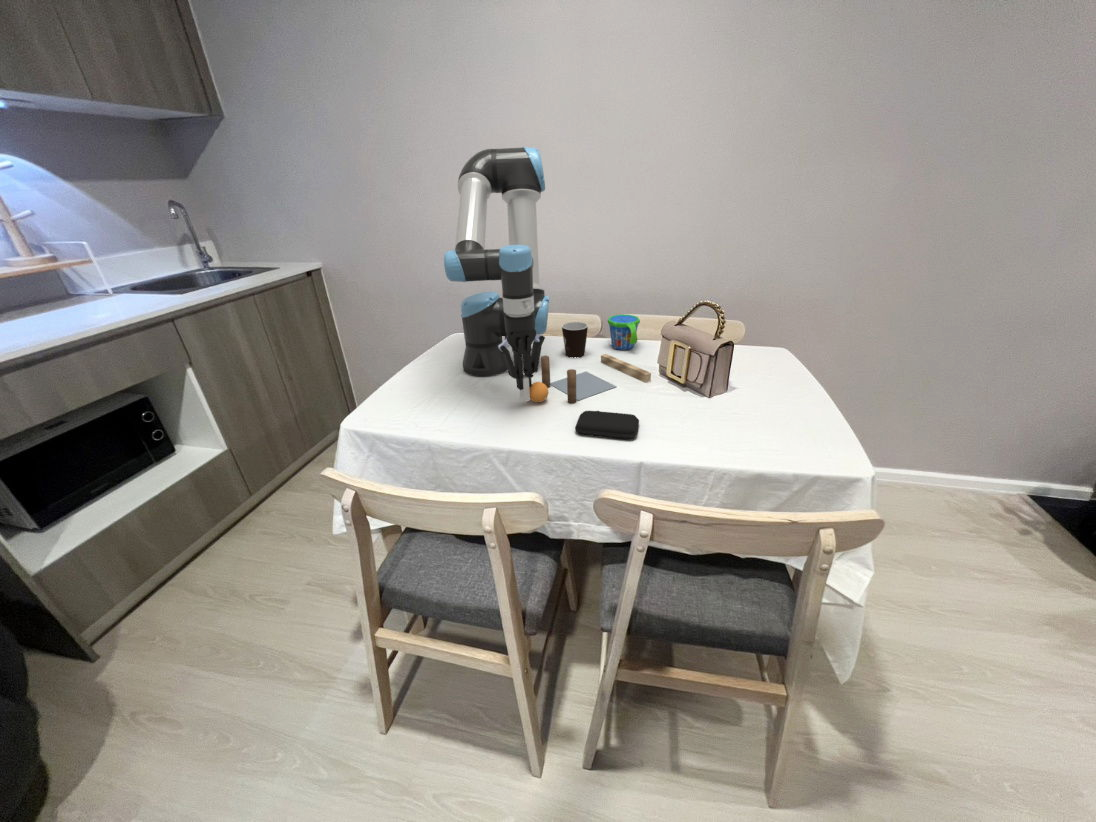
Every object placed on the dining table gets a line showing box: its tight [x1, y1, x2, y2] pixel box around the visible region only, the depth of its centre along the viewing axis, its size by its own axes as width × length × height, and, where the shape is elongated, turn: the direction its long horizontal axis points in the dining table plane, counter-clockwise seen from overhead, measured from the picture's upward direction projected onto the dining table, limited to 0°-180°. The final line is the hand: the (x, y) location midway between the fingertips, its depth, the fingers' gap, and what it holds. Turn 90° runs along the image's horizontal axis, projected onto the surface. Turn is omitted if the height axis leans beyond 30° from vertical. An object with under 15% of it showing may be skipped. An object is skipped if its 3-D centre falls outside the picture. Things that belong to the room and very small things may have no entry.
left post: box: [540, 355, 551, 389], centre depth 132 cm, size 2×2×9 cm
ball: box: [529, 381, 549, 403], centre depth 125 cm, size 6×6×6 cm
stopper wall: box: [600, 353, 652, 383], centre depth 141 cm, size 20×2×2 cm, turn 35°
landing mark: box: [550, 371, 617, 402], centre depth 134 cm, size 14×14×1 cm
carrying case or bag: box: [574, 410, 640, 441], centre depth 112 cm, size 11×3×15 cm
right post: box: [566, 368, 577, 404], centre depth 123 cm, size 2×2×9 cm
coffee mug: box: [561, 321, 589, 359], centre depth 155 cm, size 12×9×10 cm
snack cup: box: [607, 313, 641, 351], centre depth 158 cm, size 16×10×10 cm
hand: (525, 398), depth 123 cm, fingers closed
